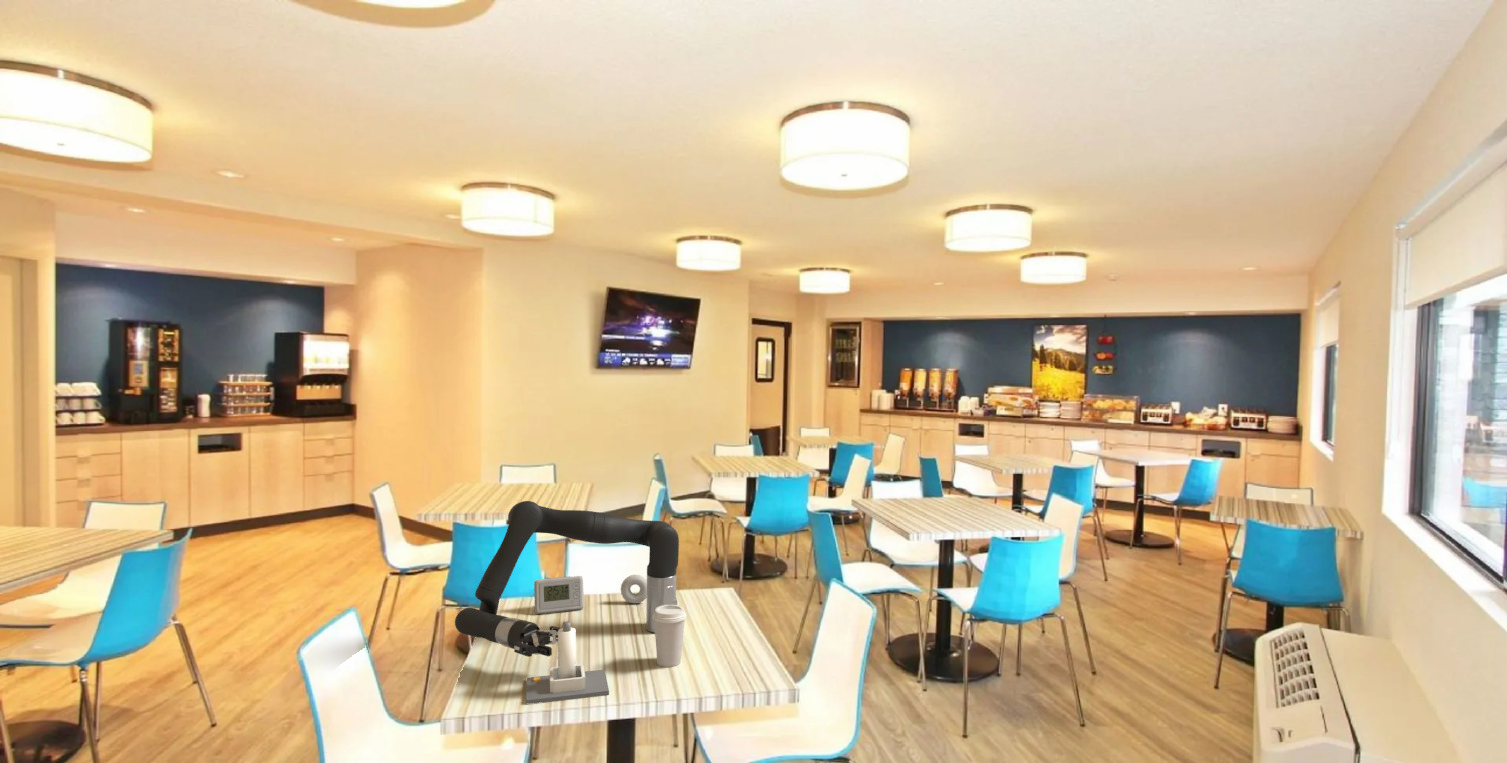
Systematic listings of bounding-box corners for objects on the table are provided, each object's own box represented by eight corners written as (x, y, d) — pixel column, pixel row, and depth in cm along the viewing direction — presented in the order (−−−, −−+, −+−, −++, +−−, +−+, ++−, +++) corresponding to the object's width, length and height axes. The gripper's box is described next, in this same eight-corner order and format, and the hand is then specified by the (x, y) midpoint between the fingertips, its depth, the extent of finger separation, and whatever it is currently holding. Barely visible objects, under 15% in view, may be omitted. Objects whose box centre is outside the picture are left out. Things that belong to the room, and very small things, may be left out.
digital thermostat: (532, 615, 237) (532, 583, 237) (535, 606, 246) (536, 575, 246) (583, 613, 240) (583, 581, 240) (584, 604, 249) (584, 573, 249)
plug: (575, 679, 189) (575, 618, 188) (576, 686, 185) (576, 624, 184) (557, 681, 188) (557, 620, 187) (558, 688, 183) (558, 626, 183)
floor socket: (604, 672, 195) (604, 658, 195) (608, 694, 183) (609, 679, 183) (526, 681, 190) (526, 666, 189) (526, 704, 177) (526, 688, 177)
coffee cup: (691, 658, 206) (692, 606, 205) (677, 671, 197) (677, 617, 196) (661, 653, 209) (661, 601, 208) (645, 666, 200) (646, 612, 199)
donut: (649, 601, 253) (650, 573, 253) (649, 604, 249) (649, 576, 249) (621, 601, 252) (621, 573, 252) (619, 605, 249) (620, 576, 248)
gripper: (496, 628, 188) (542, 641, 180) (536, 612, 200) (581, 623, 193) (496, 657, 188) (542, 670, 180) (536, 638, 201) (581, 651, 193)
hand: (562, 646), depth 187 cm, fingers open, 8 cm apart
